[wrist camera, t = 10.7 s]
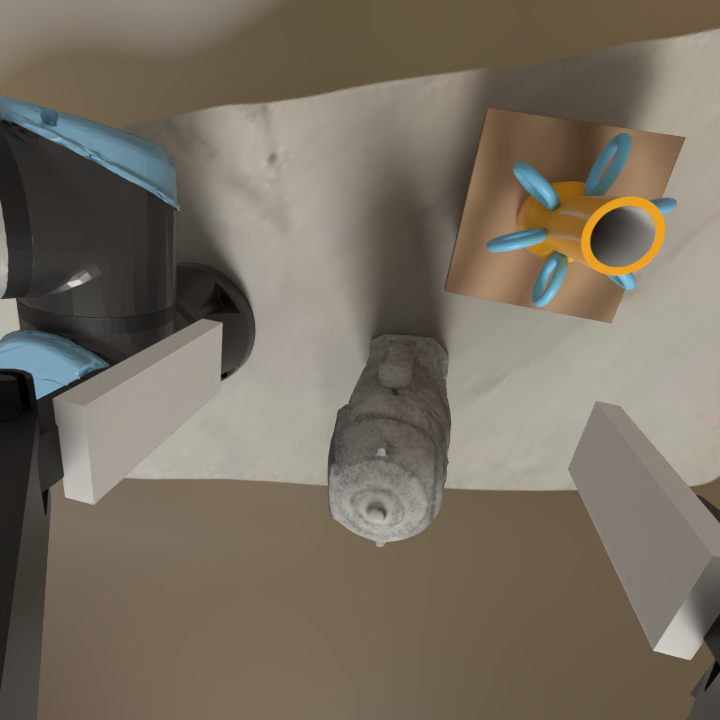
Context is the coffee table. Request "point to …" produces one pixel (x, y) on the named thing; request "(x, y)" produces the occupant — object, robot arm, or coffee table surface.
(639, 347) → the coffee table surface
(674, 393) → the coffee table surface
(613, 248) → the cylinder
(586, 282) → the small wooden table
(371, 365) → the figurine
